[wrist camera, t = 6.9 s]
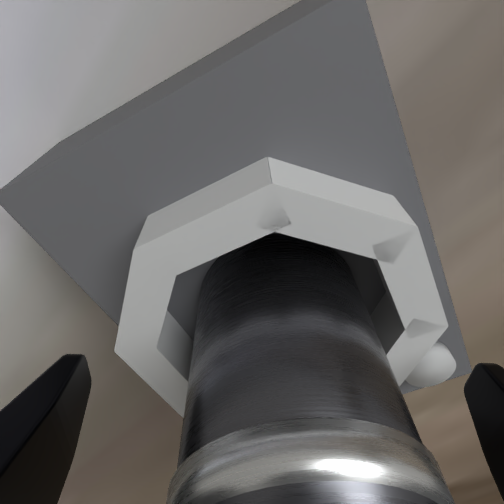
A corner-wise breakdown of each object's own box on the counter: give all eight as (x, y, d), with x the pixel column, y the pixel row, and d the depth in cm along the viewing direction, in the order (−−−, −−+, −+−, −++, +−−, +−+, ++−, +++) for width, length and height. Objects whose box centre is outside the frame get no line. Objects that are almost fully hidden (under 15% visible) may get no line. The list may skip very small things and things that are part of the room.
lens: (375, 233, 10) (576, 577, 4) (341, 357, 12) (434, 678, 7) (194, 226, 10) (126, 582, 4) (197, 354, 12) (158, 687, 6)
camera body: (424, 295, 16) (497, 412, 12) (236, 364, 18) (235, 487, 14) (321, -12, 10) (387, -19, 6) (59, 142, 12) (-48, 228, 8)
